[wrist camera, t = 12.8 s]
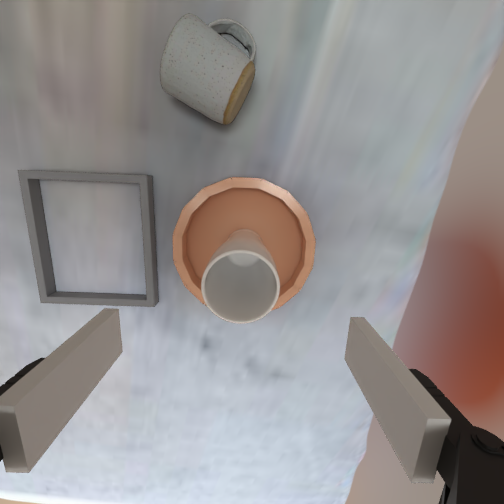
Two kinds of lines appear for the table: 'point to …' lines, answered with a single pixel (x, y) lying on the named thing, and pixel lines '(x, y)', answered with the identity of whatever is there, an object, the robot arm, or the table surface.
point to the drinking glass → (241, 279)
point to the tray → (41, 244)
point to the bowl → (245, 217)
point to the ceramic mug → (208, 67)
